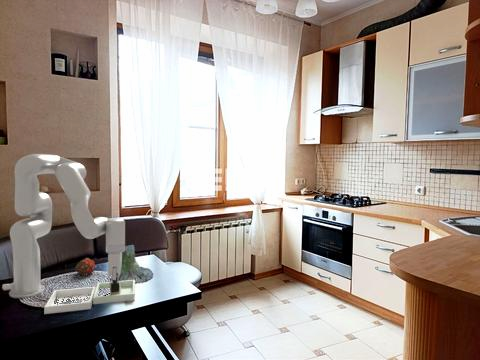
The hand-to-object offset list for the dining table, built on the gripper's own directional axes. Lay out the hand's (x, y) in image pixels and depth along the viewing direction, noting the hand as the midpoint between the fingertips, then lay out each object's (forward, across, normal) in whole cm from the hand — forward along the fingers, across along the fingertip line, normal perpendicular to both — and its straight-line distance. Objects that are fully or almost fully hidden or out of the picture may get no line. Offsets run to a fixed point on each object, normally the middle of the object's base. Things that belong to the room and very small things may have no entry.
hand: (115, 289), depth 135 cm
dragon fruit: (+3, -30, -16) cm, 34 cm away
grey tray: (+2, +4, -16) cm, 17 cm away
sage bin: (+2, 0, 0) cm, 2 cm away
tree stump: (+3, -21, +6) cm, 22 cm away
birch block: (+1, 0, 0) cm, 1 cm away
